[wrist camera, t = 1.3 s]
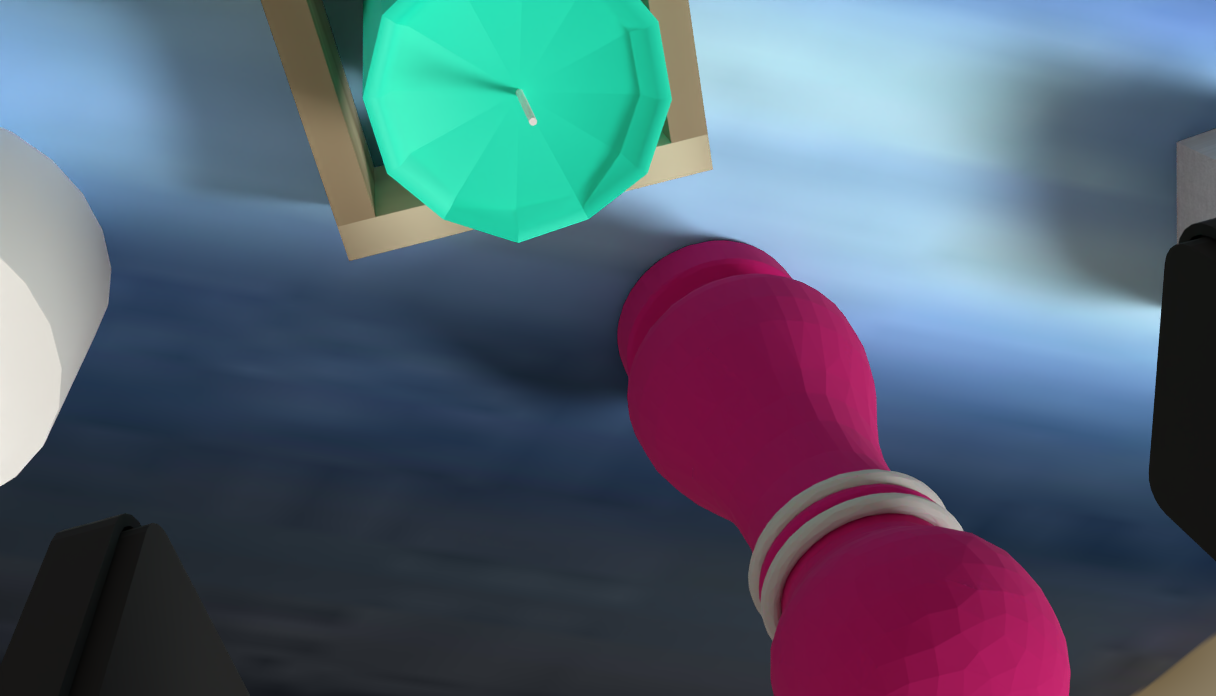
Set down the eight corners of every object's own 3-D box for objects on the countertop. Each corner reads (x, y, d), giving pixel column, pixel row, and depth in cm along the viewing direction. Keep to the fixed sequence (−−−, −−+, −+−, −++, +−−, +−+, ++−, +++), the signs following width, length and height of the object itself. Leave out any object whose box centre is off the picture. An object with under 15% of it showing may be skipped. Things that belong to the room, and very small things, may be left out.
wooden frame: (616, -244, 28) (652, -246, 24) (676, 126, 33) (712, 169, 29) (229, -160, 27) (210, -148, 24) (351, 207, 32) (349, 260, 28)
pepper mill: (556, 342, 35) (739, 893, 18) (709, 179, 34) (1071, 614, 17) (705, 451, 39) (980, 1005, 21) (851, 307, 37) (1277, 782, 20)
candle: (318, -51, 29) (292, 55, 18) (518, -165, 28) (607, -122, 18) (435, 141, 32) (471, 327, 21) (617, 41, 31) (742, 179, 21)
